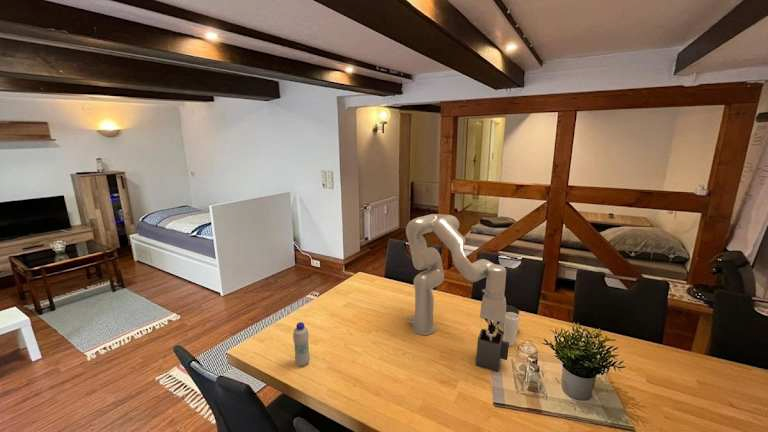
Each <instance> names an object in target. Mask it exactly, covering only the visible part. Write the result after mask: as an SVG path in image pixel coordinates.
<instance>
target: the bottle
mask: <svg viewBox="0 0 768 432" xmlns="http://www.w3.org/2000/svg"><path fill="white" fill-rule="evenodd" d="M309 336H310V333H309V330H308V328H307V327H306V326H305V323H304V322H297V323H296V327H295V328H294V330H293V336H292V338H293V339H292V340H293V343H294V359H295V360H294V361H295V364H296V366H298V367H302V366H303V367H306V365H308V364H309V363H310V356H311V355H310V350H309V349H310V348H309V339H310V337H309Z"/></svg>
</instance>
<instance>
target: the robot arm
mask: <svg viewBox="0 0 768 432" xmlns="http://www.w3.org/2000/svg"><path fill="white" fill-rule="evenodd" d="M459 228H460V221H459V219H458V218H457V217H456V216H454V215H452V214H441V213H431V214H427V215H424V216H418V217H416V218H413V219H412V220H411V219H410V221H409V222H408V223H407V225H406V227H405V233H406V238H407V240H408V243H409V249H410V250H409V251H410V255H411V261H412V263H413V267H414V268H415V270H418V271H422V272H419V273H418V274H416V276H415V277H414V279H413V286H414V317H412V316H407V322H408V324H411V330H412V331H413V333H415V334H418V335H420V336H431V335H432V334H434V333H435V332H436V327H437V326H436V325H435V324H434V306H435V305H434V304H435V302H434V301H435V300H434V299H435V298H434V294H433V292H432V290H433V289H435V288H436V287H438V286H440V285H442V283H443V282H444V280H445V273H444V269H443V262H442V261H443V260H442V257H441V254H440V252H439V251H438V249H436V248H435V247H431V246H430V247H428V246H427V245H428V244H427V240H426V238H425V237H424V236H423V235H425V234H427V233H431V232H433V233H434V234H435V236H437V237H438V238H439V240H440V241H441V242H442V243H443V244H444V245H445V247H447V249H449V251H450V252H451V253H450V254H451V258H452V261H453V264H454V267H455V268H456V269H457V271H458V272H459V273H460V274H461V275H462V276H463V277H464V278H465V279H466V280H467V281H469V282H471V283H477V282H479V281H480V280H482V279H484V278H486V283H485V288H482V289H481V292H482V293H483V295H482V300H481V305H480V312H479V314H480V316H479V318H480V319H481V320H482V319H483V320H484V321H485V322H486V323H487V329H488V330H489V333H492V334H493V332H495V331H496V329H497V324H499V323H506V319H505V316H506V305H507V300H506V296H505V290H506V282H507V281H506V279H507V269H506V267H505V266H503V265H502V264H495V263H493V262H491V261H490V260H488V259H484V258H480V259H478V260H476V261H474V262H471V261H470V259H468V257H467V256H466V254H465V252H464V246H465V245H466V242H467V241H466V238H465V237H464V235H462V234H461V233H460V232H459V231H458V230H459ZM423 270H424V271H423Z"/></svg>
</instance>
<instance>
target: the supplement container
mask: <svg viewBox="0 0 768 432" xmlns="http://www.w3.org/2000/svg"><path fill="white" fill-rule="evenodd" d="M507 312H513V313H516V314H518V315H519V320H520V319H521V317H520V310H519V309H518V308H517V307H515V306H514V305H508V304H506V313H507ZM496 329H497V331H499V332H498V333H502V334H504V323H499V324H497V325H496ZM518 332H519V330H518V331H517V334H518Z"/></svg>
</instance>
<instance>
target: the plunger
mask: <svg viewBox="0 0 768 432" xmlns="http://www.w3.org/2000/svg"><path fill="white" fill-rule="evenodd" d="M496 334H497V331H496V330H495V332H493V334H492V333H489V330H488V328H487V329H486V335H487V336H488V337H490V339H489V342H492V338H495V337H496Z"/></svg>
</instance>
